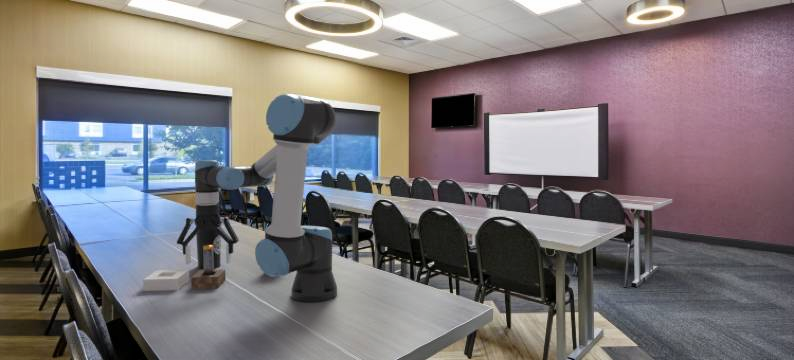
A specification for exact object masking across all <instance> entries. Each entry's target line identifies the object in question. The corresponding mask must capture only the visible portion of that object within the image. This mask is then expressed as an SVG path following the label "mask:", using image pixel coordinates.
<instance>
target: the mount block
mask: <svg viewBox="0 0 794 360" xmlns="http://www.w3.org/2000/svg"><path fill="white" fill-rule="evenodd" d="M225 281H226V269H214V275H204V269H199V270H198V271H196V273H194V275H192V276H191V277H190V287H191V288H190V289H191V290H195V289H196V290H198V289H219V288H220V287H221V286H222V285H223V284H224V282H225Z"/></svg>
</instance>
